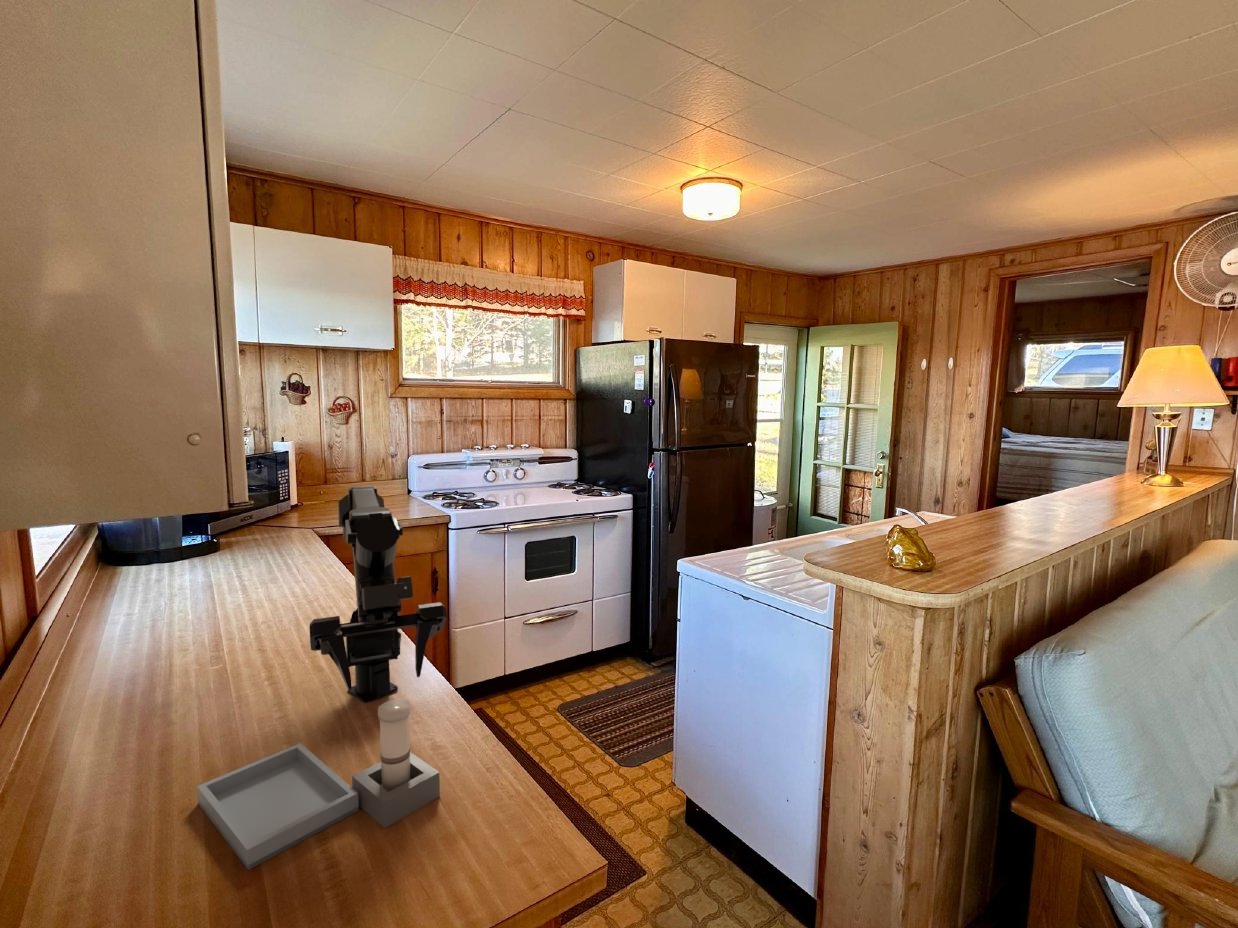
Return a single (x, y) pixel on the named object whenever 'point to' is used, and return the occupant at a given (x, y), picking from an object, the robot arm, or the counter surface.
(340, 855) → the counter surface
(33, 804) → the counter surface
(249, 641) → the counter surface
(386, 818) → the holder
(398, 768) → the beige banded cylinder
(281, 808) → the parts tray
